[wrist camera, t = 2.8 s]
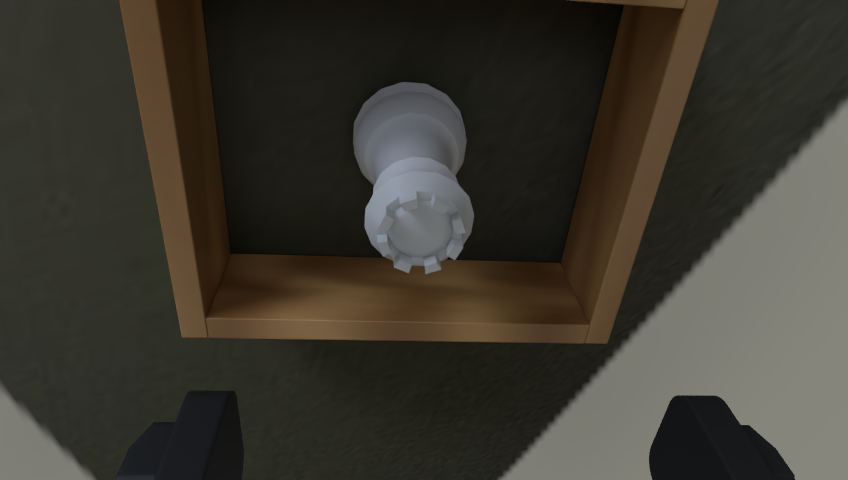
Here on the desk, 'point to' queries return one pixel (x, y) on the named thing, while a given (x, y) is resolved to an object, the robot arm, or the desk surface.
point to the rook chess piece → (413, 175)
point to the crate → (376, 277)
